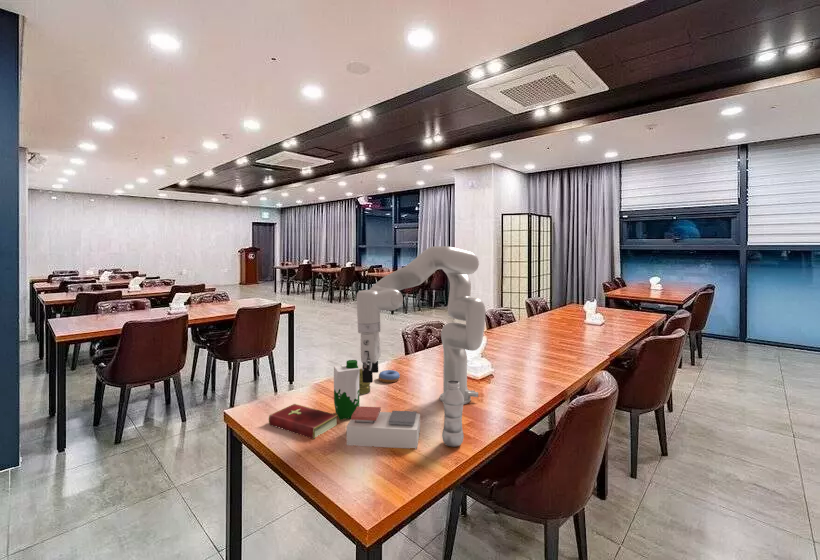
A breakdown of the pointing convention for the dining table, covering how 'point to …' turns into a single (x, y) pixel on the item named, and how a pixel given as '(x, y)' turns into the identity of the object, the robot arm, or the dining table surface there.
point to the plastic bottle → (453, 415)
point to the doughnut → (389, 376)
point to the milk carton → (346, 389)
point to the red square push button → (366, 414)
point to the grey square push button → (403, 417)
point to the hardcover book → (303, 420)
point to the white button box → (383, 433)
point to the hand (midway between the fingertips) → (370, 377)
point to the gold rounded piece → (363, 384)
